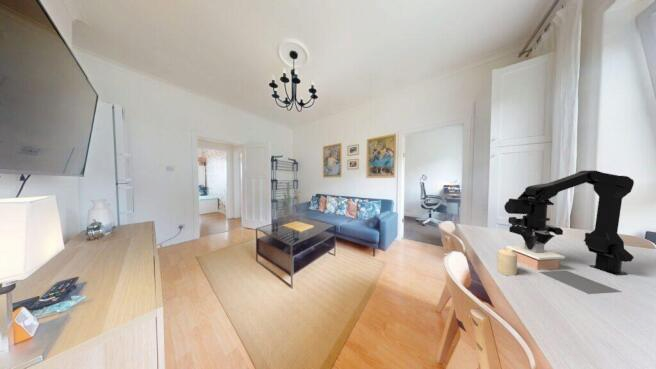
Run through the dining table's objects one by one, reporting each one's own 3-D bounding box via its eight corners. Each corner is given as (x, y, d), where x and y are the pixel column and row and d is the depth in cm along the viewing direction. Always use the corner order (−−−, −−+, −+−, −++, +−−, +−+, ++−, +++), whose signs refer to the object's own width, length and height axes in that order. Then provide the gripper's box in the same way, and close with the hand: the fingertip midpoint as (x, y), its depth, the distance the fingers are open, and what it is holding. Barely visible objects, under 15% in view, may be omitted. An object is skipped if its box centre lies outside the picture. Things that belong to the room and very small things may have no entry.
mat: (566, 271, 72) (566, 270, 72) (622, 293, 59) (622, 291, 59) (538, 273, 71) (538, 272, 71) (588, 295, 58) (588, 294, 58)
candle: (520, 277, 68) (521, 252, 67) (503, 276, 69) (505, 251, 68) (508, 270, 73) (510, 246, 73) (493, 268, 74) (494, 245, 74)
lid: (529, 246, 84) (529, 236, 83) (565, 258, 72) (566, 247, 72) (506, 247, 83) (507, 237, 83) (539, 259, 71) (539, 248, 71)
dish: (529, 258, 83) (529, 249, 83) (558, 270, 73) (559, 259, 73) (510, 259, 82) (510, 250, 82) (536, 271, 72) (537, 260, 72)
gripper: (532, 210, 85) (530, 241, 86) (497, 211, 84) (495, 242, 85) (565, 215, 74) (562, 251, 75) (525, 216, 72) (523, 253, 73)
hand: (534, 249), depth 77 cm, fingers closed on lid, 4 cm apart
